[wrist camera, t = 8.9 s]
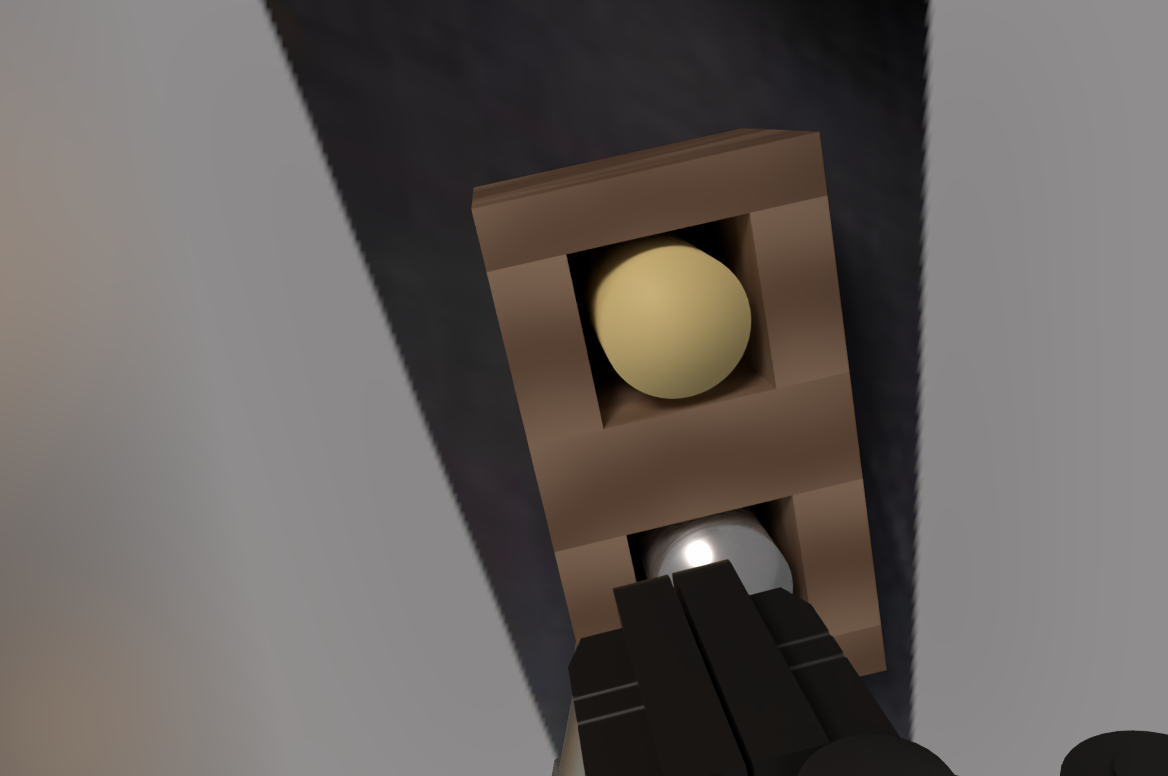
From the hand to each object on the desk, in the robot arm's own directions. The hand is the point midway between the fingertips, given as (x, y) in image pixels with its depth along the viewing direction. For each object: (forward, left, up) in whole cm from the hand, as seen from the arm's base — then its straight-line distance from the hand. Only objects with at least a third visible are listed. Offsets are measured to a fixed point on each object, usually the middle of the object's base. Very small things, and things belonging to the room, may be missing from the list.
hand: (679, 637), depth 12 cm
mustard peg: (0, +3, -24) cm, 24 cm away
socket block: (+5, +3, -24) cm, 25 cm away
